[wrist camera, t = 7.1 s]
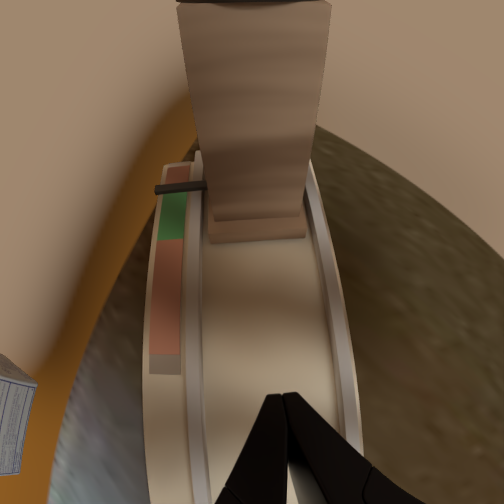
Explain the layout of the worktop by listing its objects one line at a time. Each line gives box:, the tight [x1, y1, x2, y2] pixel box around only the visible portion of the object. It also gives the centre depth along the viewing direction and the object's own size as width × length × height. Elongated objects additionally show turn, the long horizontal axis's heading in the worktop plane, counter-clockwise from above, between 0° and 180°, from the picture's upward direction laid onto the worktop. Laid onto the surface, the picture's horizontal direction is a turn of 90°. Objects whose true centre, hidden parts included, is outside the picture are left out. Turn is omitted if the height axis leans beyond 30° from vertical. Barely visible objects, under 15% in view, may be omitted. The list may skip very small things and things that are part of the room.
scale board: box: [142, 151, 364, 504], centre depth 14 cm, size 22×10×2 cm, turn 4°
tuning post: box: [155, 0, 332, 244], centre depth 11 cm, size 6×8×14 cm
